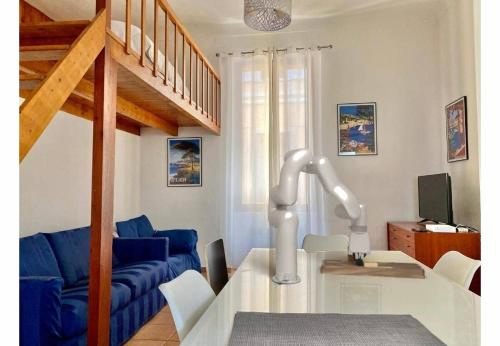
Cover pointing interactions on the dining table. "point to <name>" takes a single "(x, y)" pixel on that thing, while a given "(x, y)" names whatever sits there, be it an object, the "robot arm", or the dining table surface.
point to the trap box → (373, 269)
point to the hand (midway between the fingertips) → (359, 266)
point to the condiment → (351, 256)
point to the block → (369, 263)
